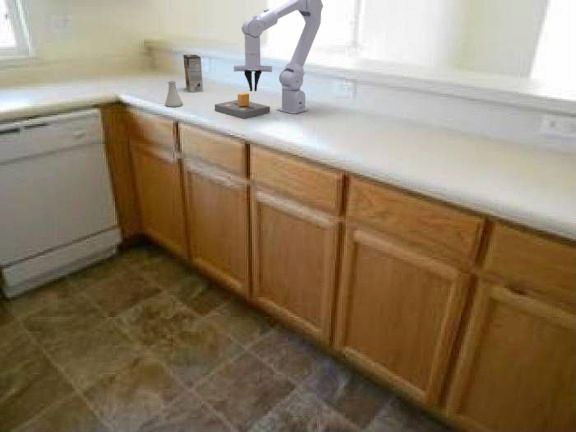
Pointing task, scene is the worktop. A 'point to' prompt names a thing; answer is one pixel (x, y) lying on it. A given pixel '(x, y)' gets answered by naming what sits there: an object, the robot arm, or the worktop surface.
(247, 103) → the block
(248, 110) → the breaker panel
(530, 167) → the worktop surface
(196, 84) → the coffee box
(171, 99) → the flask
